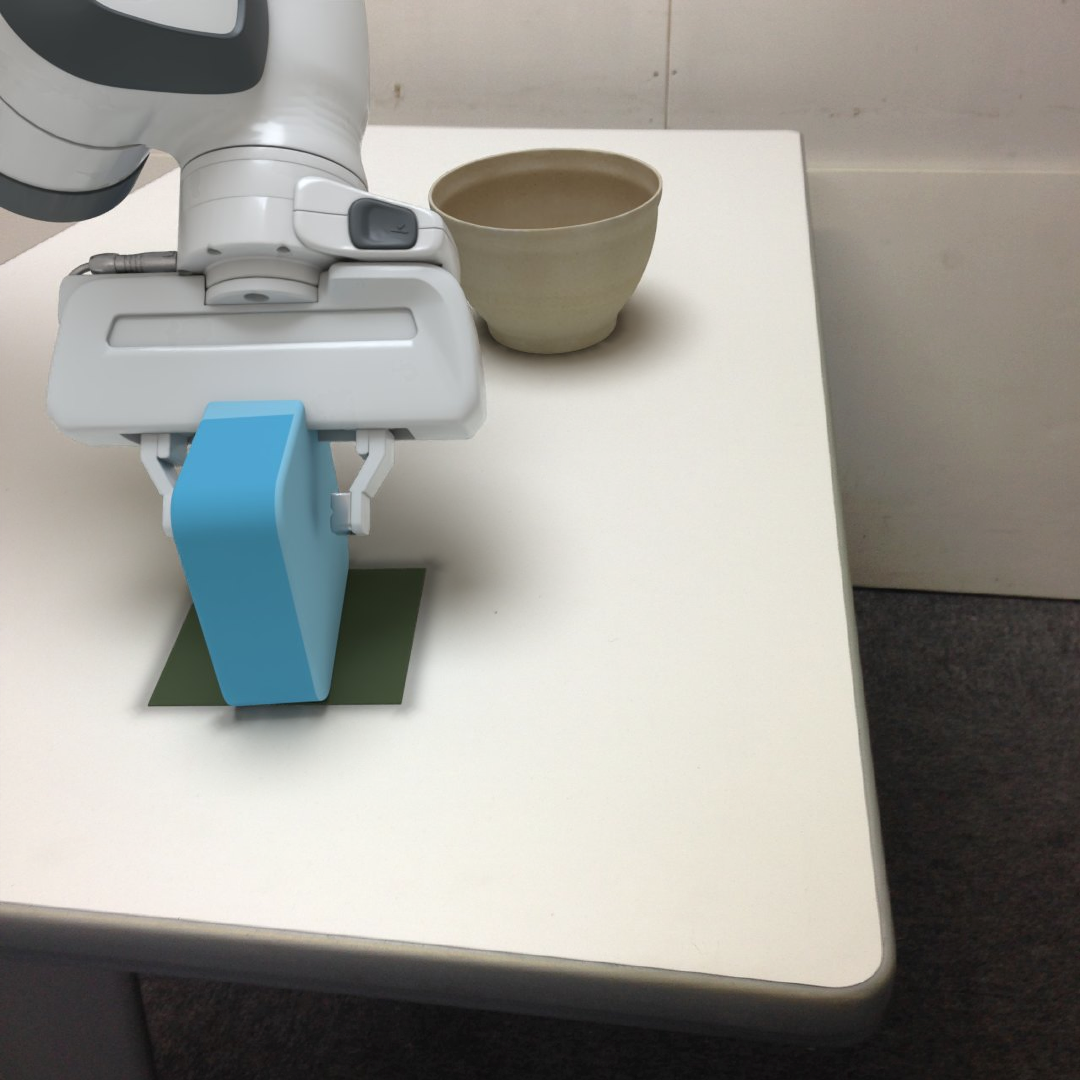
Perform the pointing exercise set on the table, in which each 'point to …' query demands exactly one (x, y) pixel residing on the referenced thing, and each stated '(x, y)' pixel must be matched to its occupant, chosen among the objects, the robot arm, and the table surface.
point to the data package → (262, 550)
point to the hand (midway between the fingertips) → (267, 535)
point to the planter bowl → (550, 241)
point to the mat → (361, 654)
